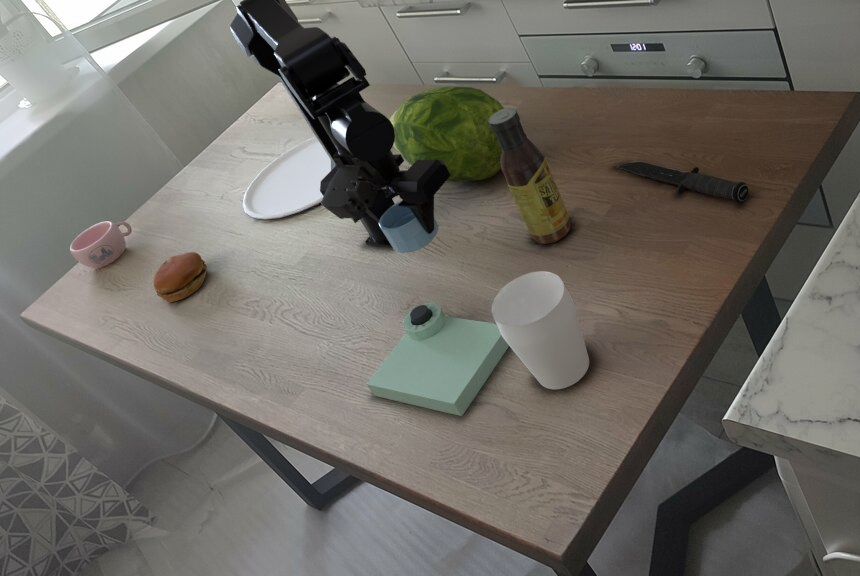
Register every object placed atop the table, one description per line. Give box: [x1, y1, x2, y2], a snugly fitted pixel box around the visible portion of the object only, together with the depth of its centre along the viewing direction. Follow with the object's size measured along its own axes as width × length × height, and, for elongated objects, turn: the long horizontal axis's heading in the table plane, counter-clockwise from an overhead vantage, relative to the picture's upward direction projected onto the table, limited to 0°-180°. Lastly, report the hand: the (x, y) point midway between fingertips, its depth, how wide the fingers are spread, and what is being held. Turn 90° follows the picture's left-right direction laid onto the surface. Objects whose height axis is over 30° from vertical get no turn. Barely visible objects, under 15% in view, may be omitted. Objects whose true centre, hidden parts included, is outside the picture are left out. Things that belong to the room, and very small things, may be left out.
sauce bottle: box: [489, 107, 572, 245], centre depth 117 cm, size 7×6×20 cm
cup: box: [490, 270, 590, 390], centre depth 98 cm, size 9×9×12 cm
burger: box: [152, 251, 208, 303], centre depth 150 cm, size 10×9×5 cm
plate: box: [242, 135, 331, 220], centre depth 167 cm, size 29×29×1 cm
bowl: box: [379, 200, 440, 254], centre depth 114 cm, size 7×7×4 cm
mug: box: [69, 220, 133, 270], centre depth 171 cm, size 12×10×6 cm
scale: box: [366, 301, 510, 417], centre depth 109 cm, size 15×14×4 cm
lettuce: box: [389, 86, 505, 183], centre depth 142 cm, size 15×27×16 cm, turn 52°
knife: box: [616, 160, 750, 203], centre depth 121 cm, size 24×5×3 cm, turn 36°
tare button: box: [410, 304, 432, 326], centre depth 112 cm, size 3×3×1 cm
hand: (411, 230), depth 114 cm, fingers closed on bowl, 7 cm apart
